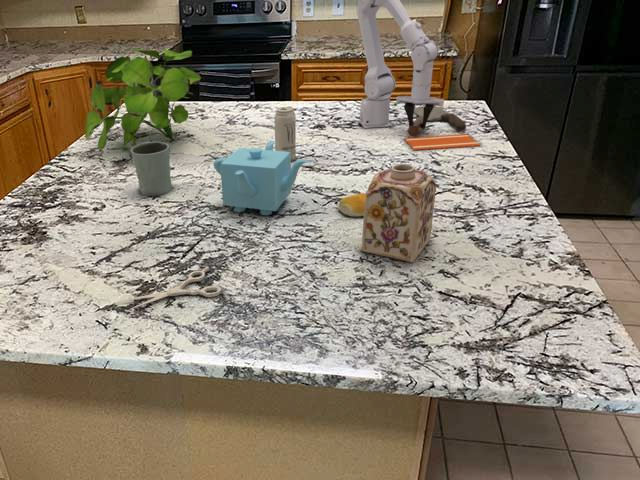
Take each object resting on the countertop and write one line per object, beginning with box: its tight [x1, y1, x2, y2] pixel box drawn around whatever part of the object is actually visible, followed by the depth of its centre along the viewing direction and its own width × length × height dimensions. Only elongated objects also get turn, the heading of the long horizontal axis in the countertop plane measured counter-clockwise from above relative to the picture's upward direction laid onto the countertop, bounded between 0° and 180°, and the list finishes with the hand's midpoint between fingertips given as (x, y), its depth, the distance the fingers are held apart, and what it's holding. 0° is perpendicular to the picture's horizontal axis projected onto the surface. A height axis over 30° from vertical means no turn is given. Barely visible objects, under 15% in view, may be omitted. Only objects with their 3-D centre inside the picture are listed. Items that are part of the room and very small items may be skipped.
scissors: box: [121, 266, 222, 311], centre depth 119 cm, size 11×1×20 cm
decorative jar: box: [361, 163, 437, 263], centre depth 127 cm, size 12×12×18 cm
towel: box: [403, 133, 481, 152], centre depth 187 cm, size 20×11×1 cm, turn 93°
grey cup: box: [130, 141, 172, 197], centre depth 164 cm, size 10×10×12 cm
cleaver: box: [414, 106, 467, 132], centre depth 207 cm, size 29×10×2 cm, turn 9°
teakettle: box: [213, 140, 310, 216], centre depth 150 cm, size 19×19×15 cm
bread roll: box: [338, 192, 366, 218], centre depth 148 cm, size 8×9×4 cm
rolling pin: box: [407, 116, 423, 138], centre depth 197 cm, size 11×4×4 cm
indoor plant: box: [84, 48, 202, 151], centre depth 196 cm, size 44×42×30 cm
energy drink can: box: [274, 106, 297, 162], centre depth 178 cm, size 6×6×15 cm
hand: (417, 127), depth 197 cm, fingers closed on rolling pin, 3 cm apart
